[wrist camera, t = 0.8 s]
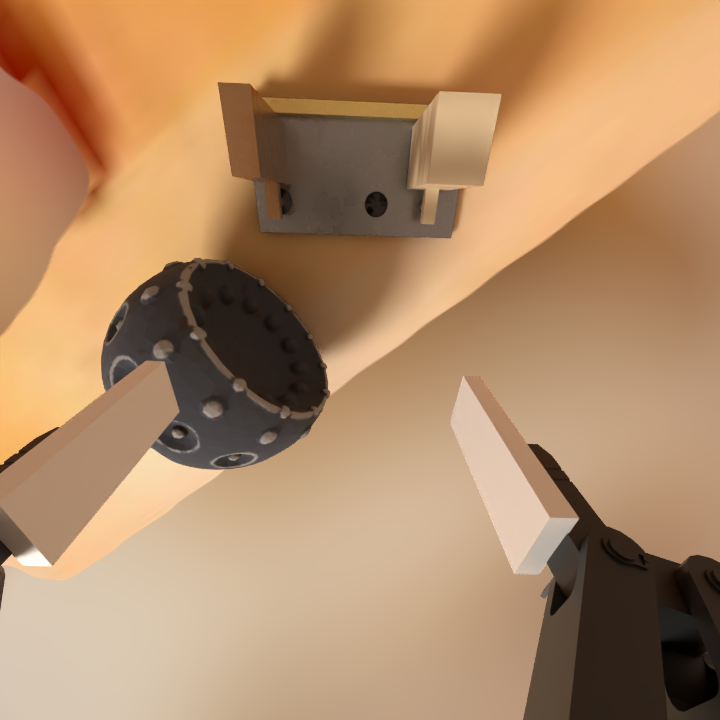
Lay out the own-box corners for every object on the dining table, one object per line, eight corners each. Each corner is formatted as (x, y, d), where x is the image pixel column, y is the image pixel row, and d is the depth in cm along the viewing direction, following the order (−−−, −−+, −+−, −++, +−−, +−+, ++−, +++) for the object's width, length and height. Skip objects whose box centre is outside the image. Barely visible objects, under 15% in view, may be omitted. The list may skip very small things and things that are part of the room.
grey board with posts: (248, 103, 27) (187, 47, 17) (468, 113, 28) (529, 64, 18) (263, 230, 32) (223, 243, 23) (447, 236, 33) (487, 251, 23)
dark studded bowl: (232, 232, 33) (88, 268, 15) (342, 357, 40) (331, 476, 23) (173, 289, 36) (-6, 374, 18) (285, 395, 43) (238, 526, 26)
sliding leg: (412, 127, 27) (439, 91, 18) (454, 129, 27) (501, 94, 18) (403, 221, 31) (422, 229, 22) (440, 222, 31) (474, 231, 22)
